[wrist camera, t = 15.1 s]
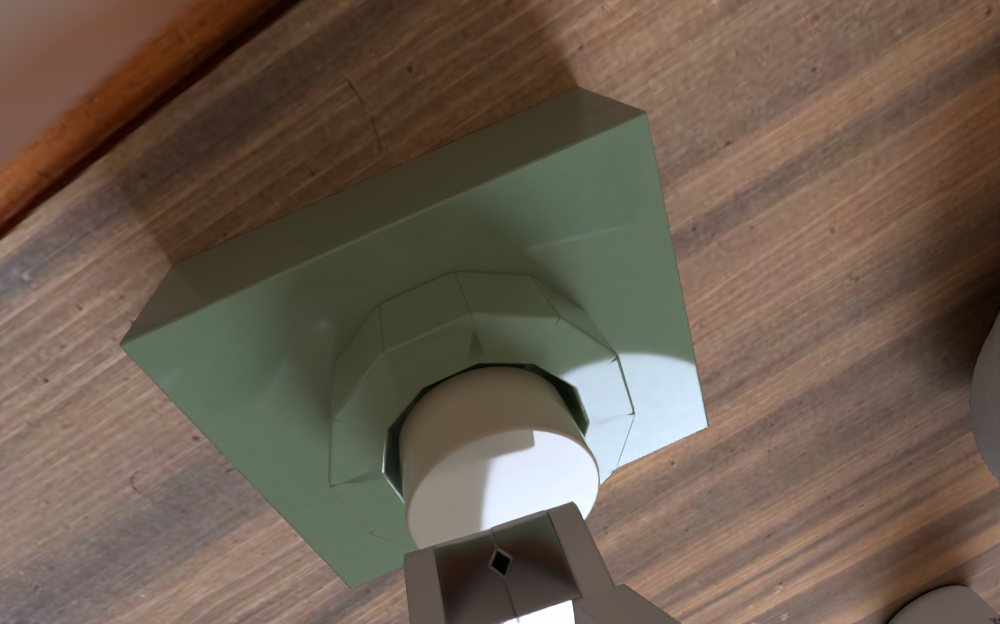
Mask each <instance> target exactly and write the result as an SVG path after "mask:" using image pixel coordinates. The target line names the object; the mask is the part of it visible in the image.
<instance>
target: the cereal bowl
mask: <svg viewBox="0 0 1000 624" xmlns="http://www.w3.org/2000/svg"><path fill="white" fill-rule="evenodd" d="M969 404H970V409H971V410H970V415H969V416H970V419H971V421H972V431H973V434H974V436H975V440H976V444H977V446H978V448H979V450H980V453H981V456H982V458H983V460H984V461H985V463H986V464H987V466H988V469H989V471H990V472H991V473H992V474H993V475H994V476H995V477H996V479H997V481H998V482H999V484H1000V311H999V313H998V315H997V317H996V320H995V322H994V324H993V327H992V329H991V331H990V333H989V335H988V337H987V338H986V339H985V342H984V345H983V346H982V349H981V353H980V354H979V356H978V358H977V364H976V366H975V368H974V376H973V381H972V383H971V396H970V400H969Z"/></svg>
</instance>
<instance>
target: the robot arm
mask: <svg viewBox="0 0 1000 624" xmlns="http://www.w3.org/2000/svg"><path fill="white" fill-rule="evenodd" d="M404 573H405V583H406V592H407V601H408V610H409V620H410V624H681V623H680V622H678V621H677V620H675V619H674V618H673V617H671V616H670V615H668V614H667V613H665V612H664V611H662V610H661V609H660V608H658V607H657V606H655V605H654V604H652V603H651V602H650V601H648V600H647V599H645V598H644V597H642V596H641V595H639V594H638V593H637V592H635V591H634V590H632V589H631V588H629V587H628V586H626V585H625V584H621V585H618V586H615V584H614V582H613V580H612V578H611V576H610V574H609V572H608V570H607V567H606V565H605V563H604V561H603V559H602V557H601V555H600V553H599V550H598V548H597V546H596V544H595V542H594V540H593V538H592V536H591V533H590V531H589V529H588V527H587V525H586V523H585V521H584V519H583V516H582V514H581V512H580V510H579V508H578V506H577V505H576V504H575V503H574V502H569V503H566V504H563V505H560V506H557V507H554V508H551V509H548V510H546V511H545V510H541V511H538V512H535V513H532V514H529V515H526V516H523V517H520V518H517V519H514V520H511V521H508V522H505V523H502V524H499V525H496V526H493V527H491V529H488V530H484V531H481V532H477V533H474V534H470V535H467V536H464V537H460V538H457V539H453V540H450V541H446V542H443V543H439V544H436V545H432V546H429V547H426V548H422V549H419V550H416V551H413V552H410V553H406V554H404Z"/></svg>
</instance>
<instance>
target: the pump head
mask: <svg viewBox="0 0 1000 624" xmlns="http://www.w3.org/2000/svg"><path fill="white" fill-rule="evenodd" d="M398 454H399V463H400V472H401V481H402V490H403V500H404V509H405V518H406V524H407V529H408V532H409V534H410V537H411V538H412V540H413V542H414V543H415V545H416V546H417V547H418V548H419V549H422V548H426V547H429V546H432V545H436V544H439V543H443V542H446V541H450V540H453V539H457V538H460V537H464V536H467V535H470V534H474V533H477V532H481V531H484V530H488V529H491V527H493V526H496V525H499V524H502V523H505V522H508V521H511V520H514V519H517V518H520V517H523V516H526V515H529V514H532V513H535V512H538V511H541V510H545V511H546V510H548V509H551V508H554V507H557V506H560V505H563V504H566V503H569V502H574V503H575V504H576V505H577V506H578V508H579V510H580V512H581V514H582V516H583V519H584V521H585V519H586V518H587V517H588V515H589V514H590V512H591V510H592V508H593V506H594V504H595V502H596V499H597V496H598V492H599V485H600V473H599V467H598V464H597V460H596V458H595V456H594V454H593V453H592V451H591V449H590V447H589V445H588V443H587V441H586V440H585V438H584V436H583V434H582V432H581V430H580V428H579V427H578V425H577V423H576V421H575V419H574V417H573V415H572V414H571V412H570V410H569V408H568V406H567V404H566V402H565V401H564V399H563V397H562V395H561V394H560V392H559V391H558V390H557V388H555V387H554V386H553V385H552V384H551V383H550V382H549V381H547V380H546V379H544V378H543V377H541V376H539V375H537V374H535V373H533V372H531V371H527V370H524V369H521V368H515V367H508V366H490V367H483V368H476V369H473V370H469V371H465V372H462V373H460V374H457V375H455V376H452V377H450V378H449V379H447V380H445V381H443V382H441V383H440V384H438V385H437V386H435V387H434V388H432V389H431V390H430V391H428V392H427V393H426V394H425V395H424V396H423V397H422V398H421V399H420V400H419V401H418V402H417V403H416V404H415V405H414V407H413V408H412V410H411V411H410V412H409V414H408V416H407V418H406V420H405V421H404V423H403V426H402V429H401V432H400V436H399V441H398Z"/></svg>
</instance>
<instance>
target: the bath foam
mask: <svg viewBox="0 0 1000 624" xmlns="http://www.w3.org/2000/svg"><path fill="white" fill-rule="evenodd" d="M888 624H1000V615H999V614H998V613H997V612H996V611H995V610H994V609H993V608H992V607H990V606H989V605H988V604H987V603H986V602H985V601H984V600H983V599H982V598H981V597H980V596H979V595H978V594H977V593H975V592H974V591H973V590H971V589H970V588H967V587H964V586H959V585H952V586H946V587H942V588H938V589H936V590H933V591H931V592H928V593H926V594H924V595H922V596H920V597H919V598H917V599H915V600H914V601H912V602H911V603H909V604H908V605H907V606H905V607H904V608H903V609H902V610H900V611H899V612H898V613H897V614H896V615H895V616H894V617H893V618H892V620H891V621H890V622H889V623H888Z"/></svg>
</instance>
